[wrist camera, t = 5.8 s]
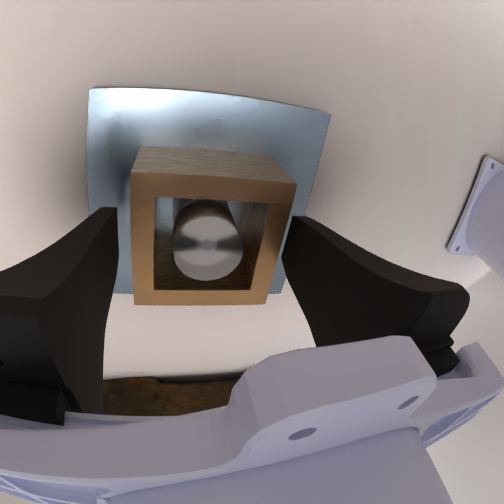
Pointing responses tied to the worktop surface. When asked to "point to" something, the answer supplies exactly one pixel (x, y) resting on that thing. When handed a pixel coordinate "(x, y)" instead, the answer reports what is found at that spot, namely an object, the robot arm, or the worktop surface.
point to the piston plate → (199, 137)
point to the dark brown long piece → (163, 397)
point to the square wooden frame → (215, 188)
